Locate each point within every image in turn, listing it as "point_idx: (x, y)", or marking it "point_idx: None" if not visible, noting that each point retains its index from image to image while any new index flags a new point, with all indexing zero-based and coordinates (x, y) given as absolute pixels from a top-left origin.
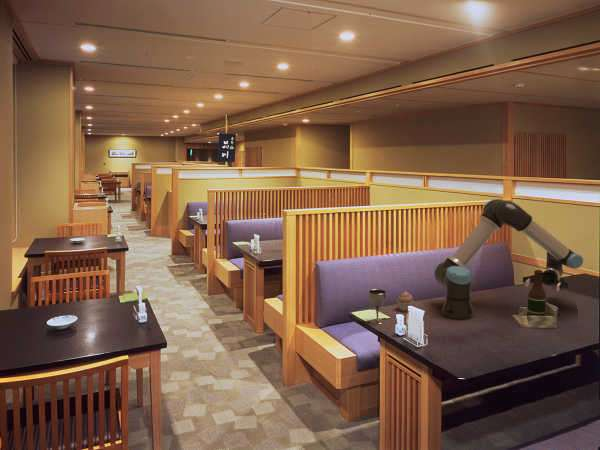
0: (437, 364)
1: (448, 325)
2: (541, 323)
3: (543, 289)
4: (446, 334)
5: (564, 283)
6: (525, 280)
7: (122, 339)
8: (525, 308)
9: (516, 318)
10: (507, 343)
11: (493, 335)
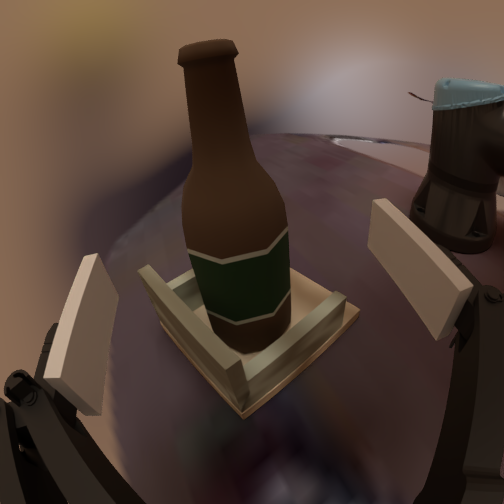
0: (279, 133)
1: (391, 182)
2: None
3: (189, 182)
4: (351, 163)
5: (24, 464)
6: (450, 256)
7: None
8: (317, 308)
9: (319, 286)
10: None
11: (290, 194)
